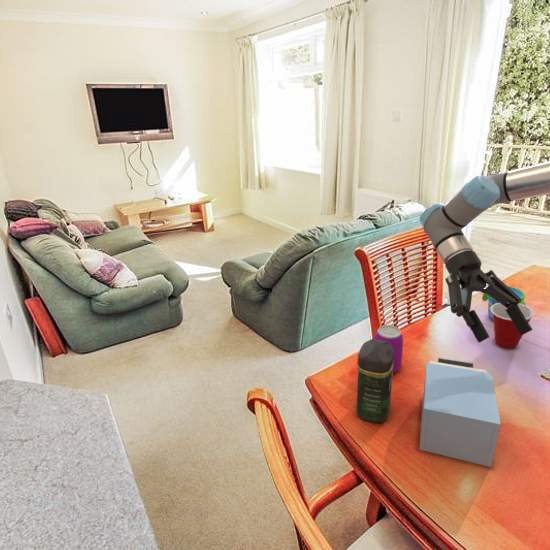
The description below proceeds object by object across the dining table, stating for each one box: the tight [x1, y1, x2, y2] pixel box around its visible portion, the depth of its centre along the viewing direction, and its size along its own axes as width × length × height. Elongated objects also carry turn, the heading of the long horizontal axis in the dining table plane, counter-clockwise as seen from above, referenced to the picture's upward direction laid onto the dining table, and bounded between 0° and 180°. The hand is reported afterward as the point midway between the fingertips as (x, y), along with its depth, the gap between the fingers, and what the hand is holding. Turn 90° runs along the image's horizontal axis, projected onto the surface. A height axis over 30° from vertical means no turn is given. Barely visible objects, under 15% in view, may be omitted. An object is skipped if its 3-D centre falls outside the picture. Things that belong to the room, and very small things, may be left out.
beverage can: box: [374, 324, 404, 373], centre depth 106 cm, size 8×8×12 cm
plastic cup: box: [490, 302, 535, 350], centre depth 111 cm, size 11×11×12 cm
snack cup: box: [481, 285, 527, 322], centre depth 124 cm, size 16×10×10 cm
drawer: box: [428, 357, 488, 373], centre depth 88 cm, size 20×13×10 cm, turn 158°
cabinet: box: [419, 362, 502, 468], centre depth 83 cm, size 16×14×12 cm
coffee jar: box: [355, 338, 394, 423], centre depth 90 cm, size 10×8×19 cm
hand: (506, 336), depth 83 cm, fingers open, 13 cm apart
